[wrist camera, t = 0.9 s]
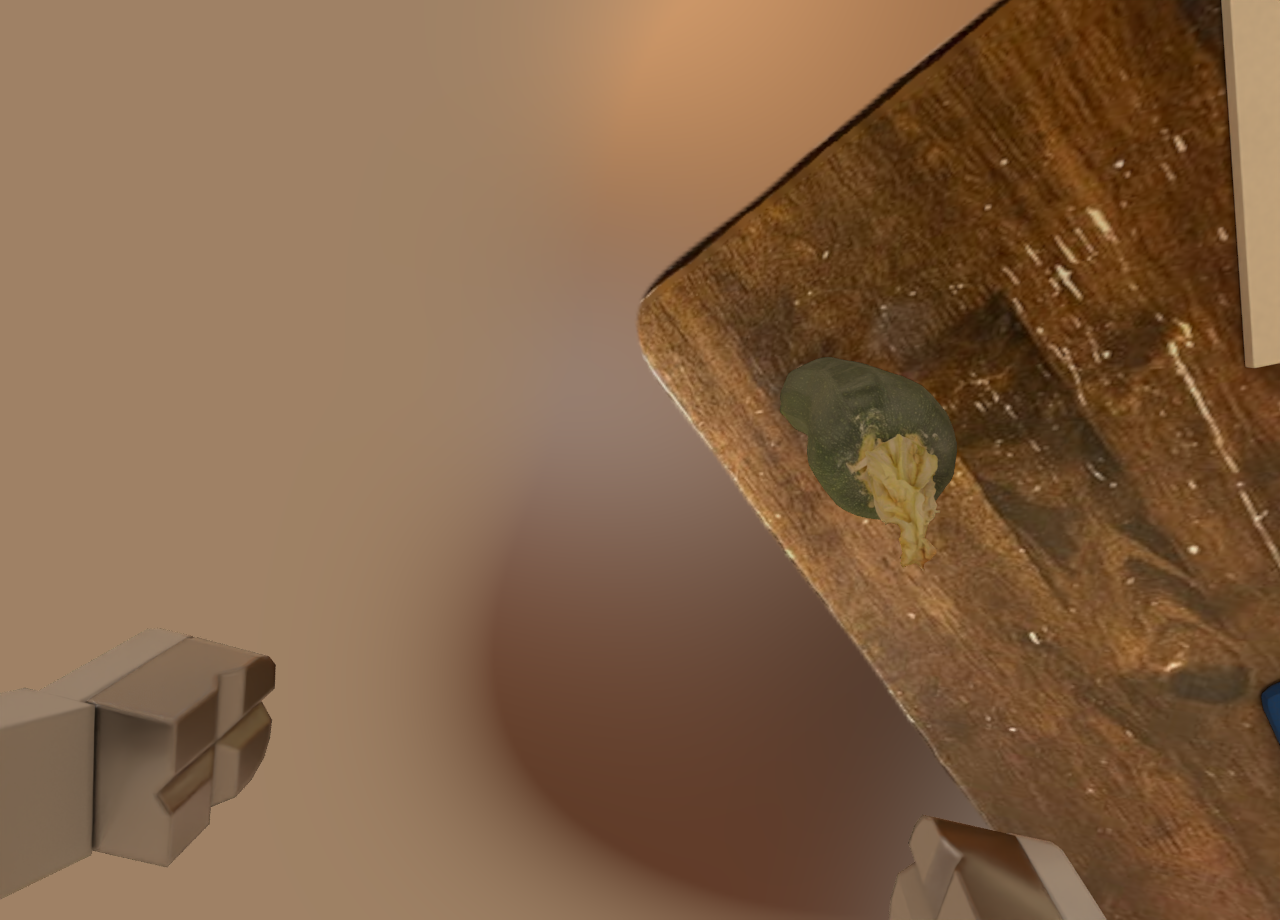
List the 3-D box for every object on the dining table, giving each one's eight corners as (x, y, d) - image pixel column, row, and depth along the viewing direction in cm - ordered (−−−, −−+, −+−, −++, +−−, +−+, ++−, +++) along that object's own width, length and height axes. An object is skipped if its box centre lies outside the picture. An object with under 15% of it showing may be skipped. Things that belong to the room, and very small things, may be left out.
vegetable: (803, 330, 35) (917, 368, 15) (881, 373, 35) (1093, 465, 15) (757, 409, 36) (808, 539, 16) (833, 451, 36) (973, 630, 16)
